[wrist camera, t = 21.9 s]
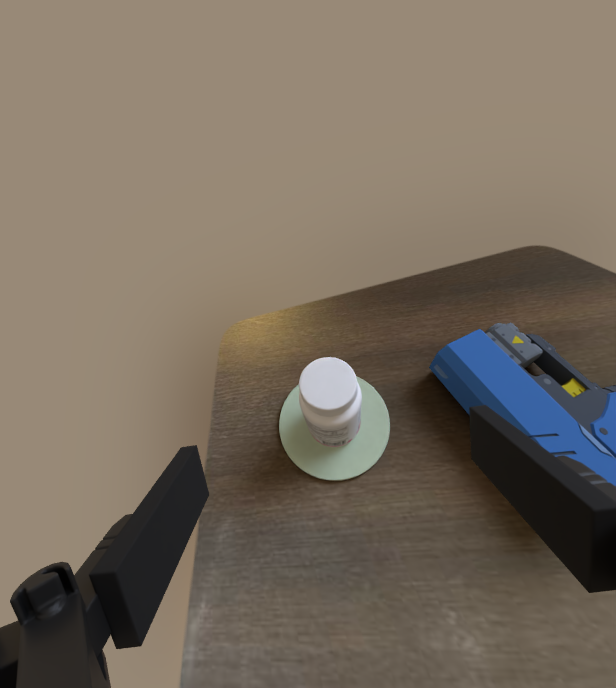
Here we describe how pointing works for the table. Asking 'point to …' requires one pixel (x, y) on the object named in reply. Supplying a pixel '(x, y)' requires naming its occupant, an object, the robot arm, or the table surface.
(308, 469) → the coaster
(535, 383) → the stun gun
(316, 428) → the pill bottle
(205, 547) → the table surface
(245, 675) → the table surface
